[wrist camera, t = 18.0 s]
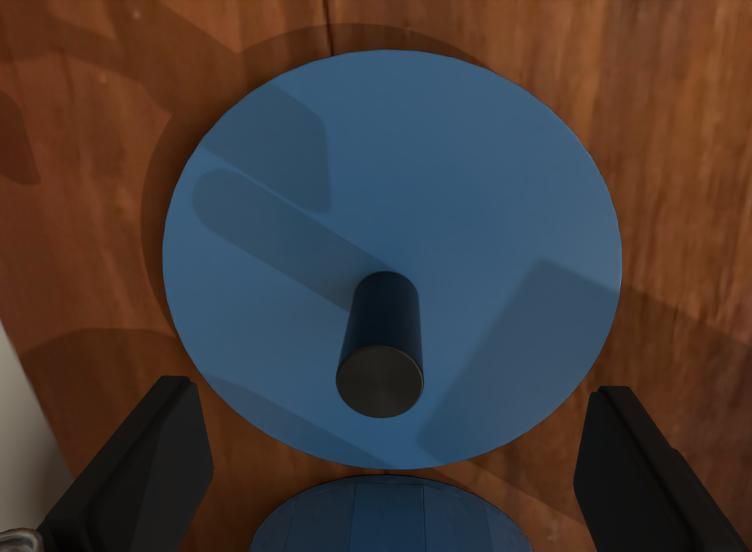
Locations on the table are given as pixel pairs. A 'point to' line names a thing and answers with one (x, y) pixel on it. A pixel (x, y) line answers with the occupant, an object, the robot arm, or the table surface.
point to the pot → (387, 519)
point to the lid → (392, 259)
